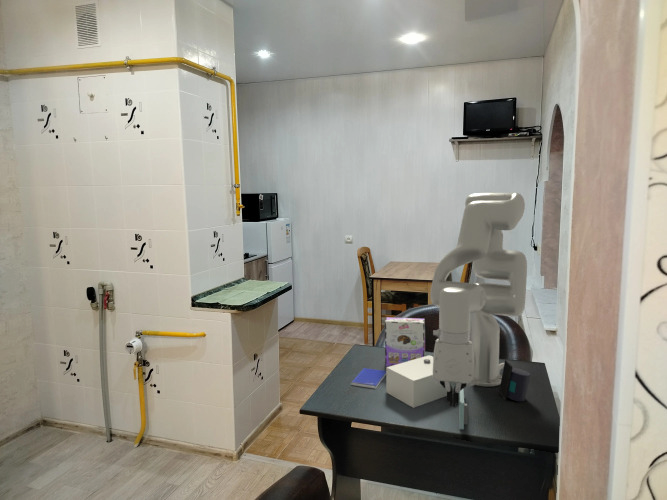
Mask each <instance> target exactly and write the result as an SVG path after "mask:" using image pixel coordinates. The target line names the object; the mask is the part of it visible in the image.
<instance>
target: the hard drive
mask: <svg viewBox="0 0 667 500" xmlns="http://www.w3.org/2000/svg"><path fill="white" fill-rule="evenodd" d="M385 376H386V370H381V369H373V368H365V367H363V369H361V370H360V372H359V373H358V374H357V376H355V378H354V379H353V380H352V381H351V382H350V384H351V386H356V387H364V388H370V389H377V388H378V386H379V385H380V384H381V382H382V381H383V379H384V378H385Z"/></svg>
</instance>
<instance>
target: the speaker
mask: <svg viewBox="0 0 667 500" xmlns="http://www.w3.org/2000/svg"><path fill="white" fill-rule="evenodd" d="M503 363H504V368H503V369H502V373H501V375H502V379H501V384H500V385H499V388H498V392H499V394H500V396H501V397H502V398H503V400H504V401H506V400H507V398H508V399H510V400H512V401H516V402H520V403H521V402H525V401H526V397H527V393H528V387H529V381H530V378H531V373H530V372H529V371H527V370H524V369H522V368H517V367H513V366H512V364H511V363H510V362H508V359H505V360H504V362H503Z"/></svg>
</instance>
